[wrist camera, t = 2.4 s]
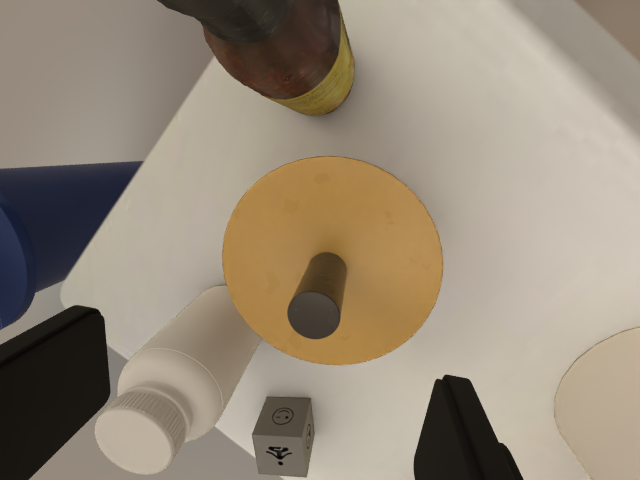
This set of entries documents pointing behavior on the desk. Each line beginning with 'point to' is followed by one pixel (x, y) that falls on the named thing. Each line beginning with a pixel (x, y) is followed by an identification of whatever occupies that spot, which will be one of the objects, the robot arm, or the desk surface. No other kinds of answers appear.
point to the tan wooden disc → (332, 260)
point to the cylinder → (604, 408)
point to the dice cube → (284, 437)
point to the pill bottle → (177, 384)
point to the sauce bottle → (280, 48)
